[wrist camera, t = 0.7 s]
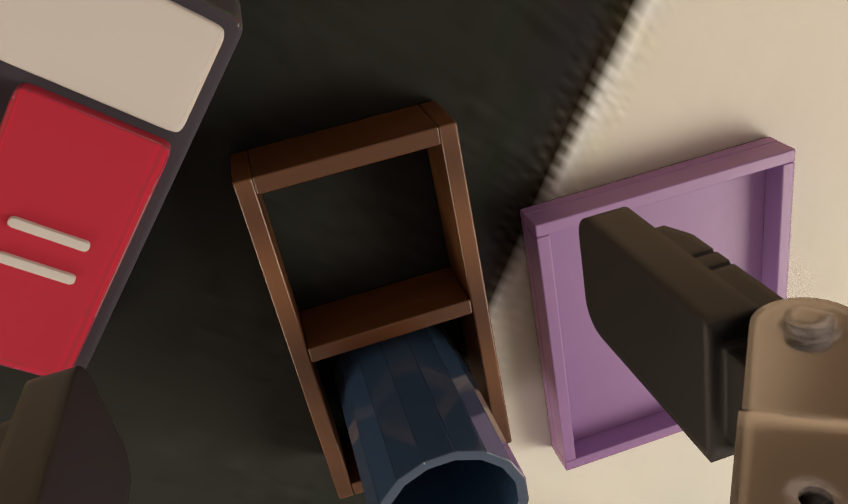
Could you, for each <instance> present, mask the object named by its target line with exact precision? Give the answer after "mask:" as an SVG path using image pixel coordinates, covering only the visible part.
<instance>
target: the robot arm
mask: <svg viewBox="0 0 848 504" xmlns="http://www.w3.org/2000/svg"><path fill="white" fill-rule="evenodd" d="M579 241H580V251H581V260H582V269H583V279H584V288H585V297H586V304H587V308H588V312H589V315H590V318H591V320H592V323H593V325H594V327H595V329H596V331H597V332H598V334H599V335H600V336H601V338H602V339H603V340H604V341H605V342H606V343H607V345H608V346H609V347H610V348H611V349H612V350H613V351H614V353H615V354H616V355H617V356H618V357H619V358H620V359H621V361H622V362H623V363H624V364H625V365H626V366H627V367H628V368H629V370H630V371H631V372H632V373H633V374H634V375H635V376H636V378H637V379H638V380H639V381H640V382H641V383H642V384H643V386H644V387H645V388H646V389H647V390H648V391H649V392H650V394H651V395H652V396H653V397H654V398H655V399H656V400H657V402H658V403H659V404H660V405H661V406H662V407H663V408H664V410H665V411H666V412H667V413H668V414H669V415H670V416H671V418H672V419H673V420H674V421H675V422H676V423H677V424H678V425H679V427H680V428H681V429H682V430H683V431H684V432H685V433H686V435H687V436H688V437H689V438H690V439H691V440H692V441H693V443H694V444H695V445H696V446H697V447H698V448H699V449H700V451H701V452H702V453H703V454H704V455H705V456H706V457H707V459H708V460H709V461H710V462H714V461H717V460H720V459H723V458H726V457H729V456H731V455H734V464H733V475H732V485H731V496H730V504H848V307H847V306H844V305H842V304H839V303H836V302H832V301H829V300H823V299H818V298H787V299H783V298H782V297H780V296H779V295H778V294H776V293H775V292H773V291H772V290H771V289H769V288H768V287H766V286H765V285H764V284H762V283H761V282H759V281H758V280H757V279H755V278H754V277H752V276H751V275H750V274H748V273H747V272H745V271H744V270H742V269H741V268H740V267H738V266H737V265H735V264H731V263H730V260H728V259H727V258H726V257H724V256H723V255H721V254H720V253H719V252H714V251H713V248H712V247H710V246H709V245H707V244H706V243H704V242H703V241H702V240H700V239H699V238H697V237H696V236H695V235H693V234H690V233H687V232H684V231H681V230H678V229H674V228H671V227H668V226H665V225H663V226H660V227H656V228H655V227H653V226H652V225H651V224H650V223H648V222H647V221H646V220H644V219H643V218H642V217H640V216H639V215H638V214H636V213H635V212H634V211H632V210H631V209H630V208H628V207H620V208H617V209H614V210H610V211H607V212H603V213H600V214H597V215H593V216H590V217H586V218H583V219H582V220H581V221H580V224H579ZM130 484H131V474H130V466H129V461H128V457H127V453H126V450H125V447H124V445H123V442H122V440H121V438H120V436H119V434H118V432H117V430H116V428H115V426H114V424H113V422H112V420H111V418H110V416H109V414H108V412H107V410H106V408H105V405H104V403H103V401H102V399H101V397H100V395H99V393H98V391H97V389H96V387H95V385H94V383H93V381H92V379H91V377H90V375H89V374H88V372H87V371H86V370H85V369H84V368H83V367H81V366H75V367H72V368H69V369H65V370H62V371H58V372H55V373H52V374H48V375H45V376H41V377H38V378H35V379H31V380H28V381H27V382H26V383H25V385H24V387H23V390H22V393H21V395H20V398H19V401H18V403H17V406H16V409H15V411H14V414H13V417H12V419H11V420H8V421H5V422H2V423H0V504H128V500H129V492H130Z"/></svg>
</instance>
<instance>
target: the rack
mask: <svg viewBox="0 0 848 504" xmlns="http://www.w3.org/2000/svg"><path fill="white" fill-rule="evenodd" d="M426 148H427V151H428V156H429V161H430V166H431V171H432V176H433V181H434V186H435V192H436V197H437V202H438V207H439V212H440V217H441V222H442V227H443V232H444V237H445V243H446V248H447V253H448V258H449V263H450V267H447V268H444V269H440V270H437V271H434V272H430V273H427V274H424V275H420V276H417V277H414V278H410V279H407V280H404V281H400V282H397V283H394V284H390V285H387V286H384V287H380V288H377V289H373V290H370V291H367V292H363V293H360V294H357V295H353V296H350V297H347V298H343V299H340V300H337V301H333V302H330V303H327V304H323V305H320V306H317V307H313V308H310V309H307V310H303V311H300V313H299V310H298V307H297V304H296V300H295V297H294V294H293V291H292V288H291V285H290V282H289V279H288V275H287V272H286V269H285V266H284V263H283V260H282V257H281V254H280V251H279V247H278V244H277V241H276V238H275V235H274V232H273V229H272V226H271V223H270V219H269V216H268V213H267V210H266V207H265V204H264V201H263V198H262V193H266V192H270V191H273V190H277V189H281V188H284V187H288V186H292V185H295V184H299V183H302V182H306V181H310V180H313V179H317V178H321V177H324V176H328V175H331V174H335V173H339V172H342V171H346V170H350V169H353V168H357V167H360V166H364V165H368V164H371V163H375V162H379V161H382V160H386V159H390V158H393V157H397V156H400V155H404V154H408V153H411V152H415V151H419V150H422V149H426ZM230 164H231V175H232V184H233V187H234V190H235V193H236V196H237V199H238V202H239V205H240V208H241V211H242V214H243V217H244V220H245V223H246V226H247V229H248V232H249V235H250V238H251V240H252V243H253V246H254V249H255V252H256V255H257V258H258V261H259V264H260V267H261V270H262V273H263V276H264V279H265V282H266V285H267V288H268V291H269V294H270V296H271V299H272V302H273V305H274V308H275V311H276V314H277V317H278V320H279V323H280V326H281V329H282V332H283V335H284V338H285V341H286V344H287V347H288V350H289V352H290V355H291V358H292V361H293V364H294V367H295V370H296V373H297V376H298V379H299V382H300V385H301V388H302V391H303V394H304V397H305V400H306V403H307V406H308V408H309V411H310V414H311V417H312V420H313V423H314V426H315V429H316V432H317V435H318V438H319V441H320V444H321V447H322V450H323V453H324V456H325V459H326V462H327V465H328V467H329V470H330V473H331V476H332V479H333V482H334V485H335V488H336V491H337V494H338V497H339V498H340V499H343V498H346V497H349V496H352V495H353V494H358V493H361V492H364V490H363V487H362V483H361V479H360V475H359V471H358V467H357V463H356V460H355V456H354V452H353V448H352V444H351V440H350V438H347V439H344V440H341V441H340V438H339V434H338V431H337V428H336V425H335V422H334V419H333V416H332V413H331V409H330V406H329V403H328V400H327V397H326V394H325V391H324V388H323V385H322V381H321V378H320V375H319V372H318V369H317V366H316V363H315V362H316V361H319V360H322V359H325V358H329V357H332V356H335V355H338V354H342V353H345V352H348V351H351V350H355V349H358V348H361V347H364V346H368V345H371V344H374V343H377V342H381V341H384V340H387V339H390V338H393V337H397V336H400V335H403V334H406V333H410V332H413V331H416V330H419V329H423V328H426V327H429V326H432V325H436V324H439V323H442V322H445V321H449V320H452V319H455V318H458V317H460V319H461V324H462V329H463V334H464V339H465V345H466V350H467V355H468V360H469V365H470V370H471V375H472V377H473V379H474V381H475V383H476V385H477V387H478V389H479V391H480V393H481V394H482V396H483V398H484V400H485V402H486V404H487V406H488V408H489V410H490V412H491V413H492V415H493V417H494V419H495V421H496V423H497V425H498V427H499V429H500V430H501V432H502V434H503V436H504V438H505V440H506V442H507V443H510V442H511V435H510V430H509V424H508V418H507V412H506V406H505V401H504V395H503V389H502V383H501V377H500V372H499V366H498V360H497V354H496V348H495V343H494V337H493V331H492V325H491V319H490V314H489V308H488V302H487V296H486V290H485V285H484V279H483V273H482V267H481V261H480V256H479V250H478V244H477V238H476V232H475V227H474V221H473V215H472V209H471V204H470V198H469V192H468V186H467V180H466V175H465V169H464V163H463V157H462V151H461V146H460V140H459V134H458V128H457V123H456V122H455V121H454V120H453V119H452V118H451V117H450V116H449V115H448V114H447V113H446V112H445V110H444V109H443V108H442V107H441V106H440V105H439V104H438V103H437V102H436V101H430V102H426V103H422V104H420V105H419V106H418V105H414V106H411V107H407V108H403V109H399V110H396V111H392V112H388V113H384V114H381V115H377V116H373V117H369V118H366V119H362V120H358V121H354V122H351V123H347V124H343V125H339V126H336V127H332V128H328V129H324V130H321V131H317V132H313V133H309V134H306V135H302V136H298V137H294V138H291V139H287V140H283V141H279V142H276V143H272V144H268V145H264V146H261V147H257V148H253V149H249V150H248V152H247V151H243V152H239V153H235V154H231V155H230Z"/></svg>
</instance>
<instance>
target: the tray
mask: <svg viewBox="0 0 848 504" xmlns="http://www.w3.org/2000/svg"><path fill="white" fill-rule="evenodd" d="M794 160H795V149H794V148H792V147H790V146H787V145H785V144H783V143H781V142H779V141H777V140H775V139H773V138H771V137H766V138H763V139H760V140H756V141H753V142H749V143H746V144H742V145H739V146H736V147H732V148H729V149H725V150H722V151H718V152H715V153H712V154H708V155H705V156H701V157H698V158H694V159H691V160H688V161H684V162H681V163H677V164H674V165H670V166H667V167H664V168H660V169H657V170H653V171H650V172H646V173H643V174H640V175H636V176H633V177H629V178H626V179H623V180H619V181H616V182H612V183H609V184H605V185H602V186H599V187H595V188H592V189H588V190H585V191H581V192H578V193H575V194H571V195H568V196H564V197H561V198H557V199H554V200H551V201H547V202H544V203H540V204H537V205H533V206H530V207H527V208H523V209H520V215H521V222H522V229H523V237H524V244H525V251H526V258H527V266H528V273H529V280H530V287H531V295H532V302H533V309H534V316H535V324H536V331H537V338H538V346H539V353H540V360H541V367H542V375H543V382H544V389H545V396H546V404H547V411H548V418H549V425H550V433H551V440H552V447H553V449H554V451H555V453H556V454H557V456H558V457H559V459H560V461H561V462H562V464H563V466H564V467H565V469H566V470H570V469H573V468H576V467H579V466H582V465H584V464H587V463H590V462H593V461H596V460H599V459H602V458H605V457H608V456H611V455H614V454H616V453H619V452H622V451H625V450H628V449H631V448H634V447H637V446H640V445H643V444H646V443H648V442H651V441H654V440H657V439H660V438H663V437H666V436H669V435H672V434H675V433H677V432H680V431H683V430H682V429H681V428H680V427H679V425H678V424H677V423H676V422H675V421H674V420H673V419H672V418H671V416H670V415H669V414H668V413H667V412H666V411H665V410H664V408H663V407H662V406H661V405H660V404H659V403H658V402H657V400H656V399H655V398H654V397H653V396H652V395H651V394H650V392H649V391H648V390H647V389H646V388H645V387H644V386H643V384H642V383H641V382H640V381H639V380H638V379H637V378H636V376H635V375H634V374H633V373H632V372H631V371H630V370H629V368H628V367H627V366H626V365H625V364H624V363H623V362H622V361H621V359H620V358H619V357H618V356H617V355H616V354H615V353H614V351H613V350H612V349H611V348H610V347H609V346H608V345H607V343H606V342H605V341H604V340H603V339H602V338H601V336H600V335H599V334H598V332H597V331H596V329H595V327H594V325H593V323H592V320H591V318H590V315H589V312H588V308H587V304H586V297H585V288H584V279H583V269H582V260H581V251H580V241H579V224H580V221H581V220H582V219H583V218H586V217H590V216H593V215H597V214H600V213H603V212H607V211H610V210H614V209H617V208H620V207H628V208H630V209H631V210H632V211H634V212H635V213H636V214H638V215H639V216H640V217H642V218H643V219H644V220H646V221H647V222H648V223H650V224H651V225H652V226H653V227H655V228H656V227H660V226H663V225H665V226H668V227H671V228H674V229H678V230H681V231H684V232H687V233H690V234H693V235H695V236H696V237H697V238H699V239H700V240H702V241H703V242H704V243H706V244H707V245H709V246H710V247H712V248H713V251H714V252H719V253H720V254H721V255H723V256H724V257H726V258H727V259H728V260H730V263H731V264H735V265H737V266H738V267H740V268H741V269H742V270H744V271H745V272H747V273H748V274H750V275H751V276H752V277H754V278H755V279H757V280H758V281H759V282H761V283H762V284H764V285H765V286H766V287H768V288H769V289H771V290H772V291H773V292H775V293H776V294H778V295H779V296H780V297H782V298H783V299H786V298H787V281H788V264H789V247H790V230H791V213H792V196H793V179H794Z"/></svg>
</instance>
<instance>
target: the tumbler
mask: <svg viewBox="0 0 848 504" xmlns="http://www.w3.org/2000/svg"><path fill="white" fill-rule="evenodd" d="M334 376H335V383H336V386H337V390H338V394H339V398H340V402H341V406H342V410H343V413H344V417H345V421H346V425H347V429H348V433H349V436H350V440H351V444H352V448H353V452H354V456H355V460H356V463H357V467H358V471H359V475H360V479H361V483H362V487H363V490H364V494H365V498H366V502H367V504H528V499H529V497H528V491H527V485H526V478H525V476H524V474H523V472H522V470H521V468H520V466H519V465H518V463H517V461H516V459H515V457H514V455H513V453H512V451H511V449H510V448H509V446H508V444H507V442H506V440H505V438H504V436H503V434H502V432H501V430H500V429H499V427H498V425H497V423H496V421H495V419H494V417H493V415H492V413H491V412H490V410H489V408H488V406H487V404H486V402H485V400H484V398H483V396H482V394H481V393H480V391H479V389H478V387H477V385H476V383H475V381H474V379H473V377H472V376H471V374H470V372H469V370H468V368H467V366H466V364H465V362H464V360H463V358H462V357H461V355H460V353H459V351H458V349H457V347H456V345H455V343H454V341H453V340H452V339H451V338H450V336H449V334H448V332H447V331H446V330H445V328H444V327H443V326H442V325H441V324H440V323H439V324H436V325H432V326H429V327H426V328H423V329H419V330H416V331H413V332H410V333H406V334H403V335H400V336H397V337H393V338H390V339H387V340H384V341H381V342H377V343H374V344H371V345H368V346H364V347H361V348H358V349H355V350H351V351H348V352H345V353H342V354H338V355H336V358H335V363H334Z"/></svg>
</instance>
